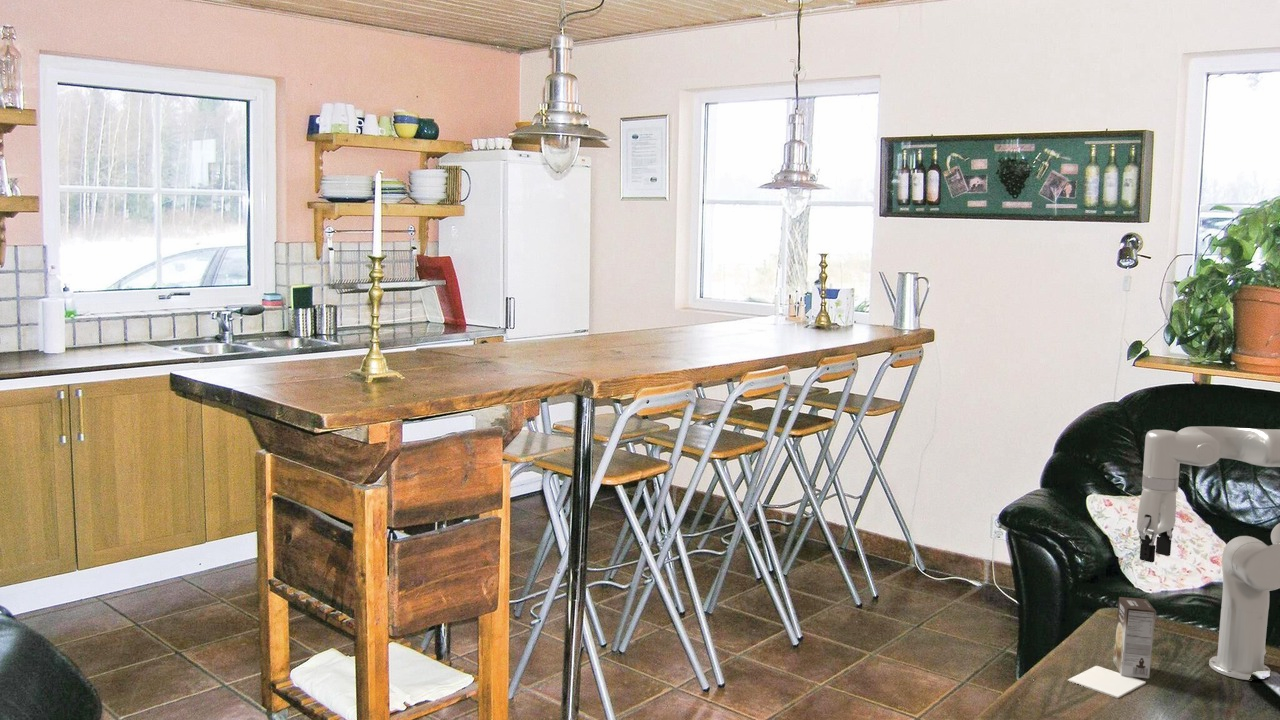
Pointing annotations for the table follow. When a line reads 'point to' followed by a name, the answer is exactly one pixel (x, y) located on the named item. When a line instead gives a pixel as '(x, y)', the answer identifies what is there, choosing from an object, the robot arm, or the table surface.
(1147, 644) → the coffee box
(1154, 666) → the table surface
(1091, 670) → the mat
